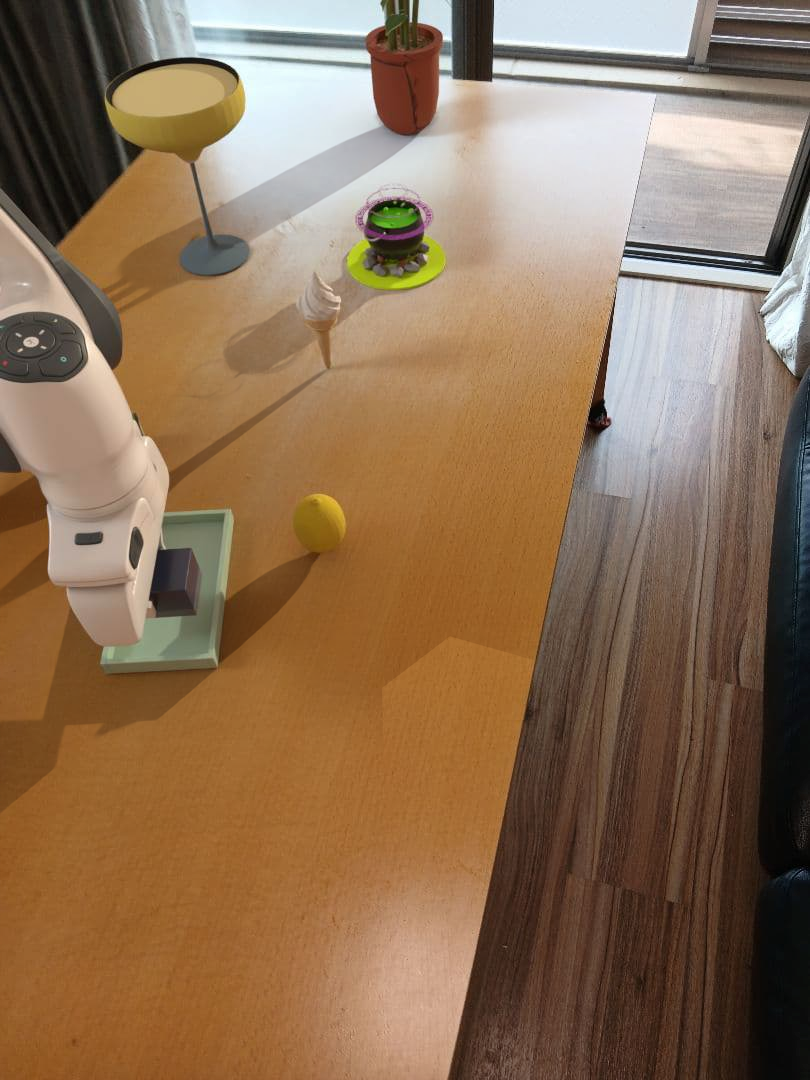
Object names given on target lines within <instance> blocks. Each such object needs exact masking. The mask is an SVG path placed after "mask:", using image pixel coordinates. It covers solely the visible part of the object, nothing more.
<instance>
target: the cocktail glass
mask: <svg viewBox="0 0 810 1080" xmlns="http://www.w3.org/2000/svg"><path fill="white" fill-rule="evenodd" d="M104 103H105V108H106V112H107V115H108V118H109V121H110V123H111V125H112V127H113V128H114V130H115V131H116V132H117V134H118V135H119V136H121V137H122V138H123V139H125V140H126V141H128V142H130V143H132V144H133V145H135V146H137V147H139V148H142V149H145V150H149V151H153V152H158V153H165V154H174V155H175V156H177V157H178V158H179V159H180V160H182V161H183V162H184V163H187V164H189V167H190V171H191V174H192V178H193V182H194V185H195V191H196V194H197V198H198V202H199V207H200V210H201V215H202V219H203V225H204V228H205V234H206V236H202V237H200V238H197V239H195V240H193V241H191V242H190V243H188V244H187V245H185V247H184V248H182V250H181V252H180V254H179V263H180V266H181V267H182V268H183V269H184V270H185V271H187V272H188V273H190V274H193V275H197V276H203V277H211V276H212V277H215V276H221V275H224V274H228V273H230V272H231V273H232V272H233V271H235V270H237V269H239V268H240V267H241V266H242V265H244V264H245V262H247V260H248V258H249V256H250V246H249V244H248V243H247V242H246V241H245V240H243V238H240V237H238V236H235V235H231V234H225V233H224V234H223V233H222V234H221V233H220V234H219V233H218V234H214V233H213V230H212V227H211V224H210V220H209V216H208V212H207V209H206V205H205V201H204V197H203V193H202V188H201V185H200V181H199V177H198V172H197V168H196V165H195V163H196V162H197V161H198V160H199V158H200V157H201V155H202V153H203V150H204V149H205V148H207V147H210V146H212V145H213V144H215V143H218V142H219V141H220V140H222V139H224V138H225V137H227V136H228V135H229V134H230V133H231V132H232V131H233V130H234V129H235V128H236V127H237V126H238V124H239V123H240V121H241V120H242V118H243V117H244V114H245V111H246V93H245V88H244V84H243V81H242V78H241V75H240V74H239V72H238V71H237V70H236V68H234V67H233V66H231V65H230V64H228V63H226V62H223V61H220V60H218V59H213V58H209V57H208V58H207V57H199V56H198V57H197V56H182V57H181V56H180V57H170V58H163V59H158V60H153V61H150V62H146V63H143V64H140V65H137V66H135V67H132V68H130V69H127V70H126V71H124V72H122V73H121V74H119V75H117V76H116V77H115V78H114V79H113V80H112V81H111V82H109V84H108V86H107V87H106V89H105V91H104Z"/></svg>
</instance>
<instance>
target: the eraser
mask: <svg viewBox="0 0 810 1080" xmlns="http://www.w3.org/2000/svg"><path fill="white" fill-rule="evenodd" d="M201 579H202V573H201V570H200V568H199V565H198V563H197V560H196V558H195V556H194V553H193V551H192V548H179V549H163V550H157V555H156V561H155V567H154V572H153V578H152V584H151V589H150V595H149V596H154V598H155V599H156V602H157V604H158V605H157V612H156V617H155V618H162V617H178V616H195V615H197V610H198V602H199V594H200V587H201Z"/></svg>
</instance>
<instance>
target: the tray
mask: <svg viewBox="0 0 810 1080" xmlns="http://www.w3.org/2000/svg"><path fill="white" fill-rule="evenodd" d="M234 524H235V518H234V515H233V512H232V509H231V508H223V509H222V508H221V509H205V510H204V509H203V510H202V509H201V510H186V511H167V512H165V511H164V516H163V522H162V535H163V543H164V546H165V548H166V549H179V548H192V551H193V553H194V556H195V558H196V560H197V563H198V565H199V568H200V570H201V573H202V579H201V587H200V594H199V602H198V610H197V615H195V616H178V617H162V618H148V619H145V623H144V629H143V636H142V639H141V640H140V641H139V642H138V643H136V644H133V645H128V646H117V647H105V646H103V647H102V652H101V658H100V663H99V665H100V667H101V668H102V670H103V672H104V673H105V674H106V675H111V674H131V673H148V672H150V673H151V672H166V671H167V672H169V671H184V670H185V671H186V670H205V669H217V668H219V660H220V649H221V641H222V631H223V624H224V623H223V622H224V615H225V605H226V604H225V603H226V595H227V588H228V578H229V570H230V560H231V551H232V544H233V543H232V541H233V533H234Z"/></svg>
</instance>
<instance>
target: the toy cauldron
mask: <svg viewBox="0 0 810 1080" xmlns="http://www.w3.org/2000/svg"><path fill="white" fill-rule="evenodd" d="M388 186H391V183H388V184H385V185H384V187H387V188H385V191H388V190H389V188H388ZM393 186H400V183H393ZM384 187H379V189H378V190H377V191H376V192H373V193H372V194H369V196H368V198H367V199H366V201H365V204H364V205H363V207H360V209H359V210H358V211H357V213H356V214H355V217H354V219H355V220H354V223H355V225H356V227H357V228H358V229H359V230H360V231H361V232H362V233H363V236H364V239H362V240H361V241H359V242H358V243H356V244H355V245H354V246H353V247H352V249H350V251H349V253H348V255H347V260H346V266H347V270H348V272H349V274H350V276H352V277H353V278H354V279H355V280H356V281H357V282H359V283H361V284H363V285H365V286H366V287H367V286H368V287H369V288H374V289H377V290H384V291H402V290H403V291H404V290H411V289H414V288H419V287H421V286H423V285H426V284H428V283H430V282H432V281H433V280H435V279H436V278H437V277H438V276H439V275H440V274H441V273H442V272H443V270H444V268H445V265H446V261H447V260H446V259H447V256H446V253H445V249H443V247H442V245H440V244H439V243H438V241H436V240H434V239H433V238H431V237H430V236H427V235H425V231H426V230H428V229H429V228H430V227H431V225H432V224H433V222H434V219H435V217H434V211H433V210H432V208H431V207H430V206H429V205H428V204H427V203H425V202H423V201H422V200H421V197H420V196H419V194H418V193H416V192H415V191H413V190H411V189H408V187H407V186H405V185H403V184H402V187H392V188H391V187H390V190H403V191H405V192H404V193H406V195H408V194H409V192H410V193H412V194H413V195H416V197H417V199H416V198H412V197H410V196H407V197H406V195H402V196H383V194H382V191H384ZM375 194H377V195H378V196H379V197H380V198H379V197H378V198H376V199H374V200H371V201H370V202H369V200H370V199H372V197H373V196H374V195H375ZM421 209H422V211H423V213H424V215H425V220H424V218H423V216H422V213H421ZM366 212H367V218H366V221H365V222H364V215H365V214H366Z"/></svg>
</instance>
